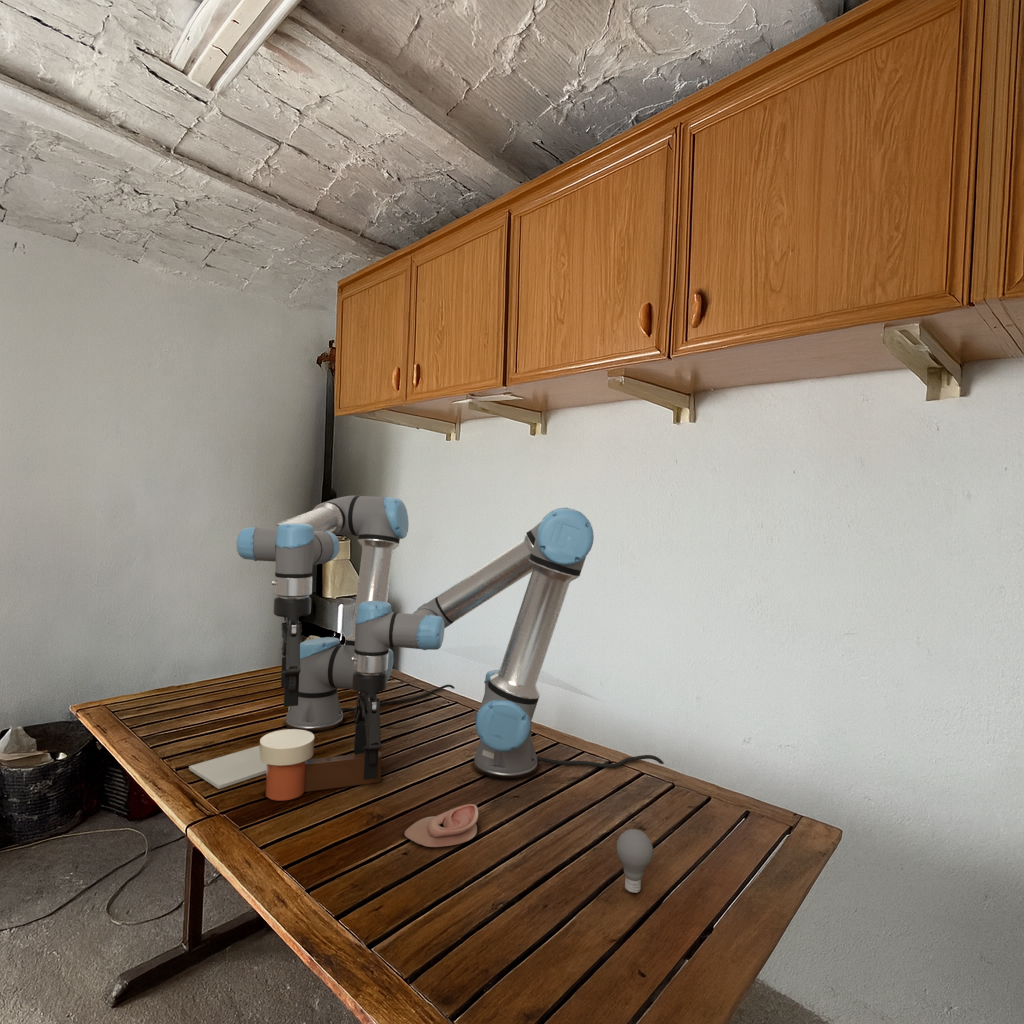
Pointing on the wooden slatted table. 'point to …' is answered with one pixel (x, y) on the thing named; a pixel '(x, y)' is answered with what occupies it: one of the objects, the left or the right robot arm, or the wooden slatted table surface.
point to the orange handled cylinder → (316, 775)
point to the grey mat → (231, 768)
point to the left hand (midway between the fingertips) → (289, 695)
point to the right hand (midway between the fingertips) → (364, 765)
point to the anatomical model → (445, 827)
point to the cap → (286, 747)
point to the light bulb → (634, 857)
